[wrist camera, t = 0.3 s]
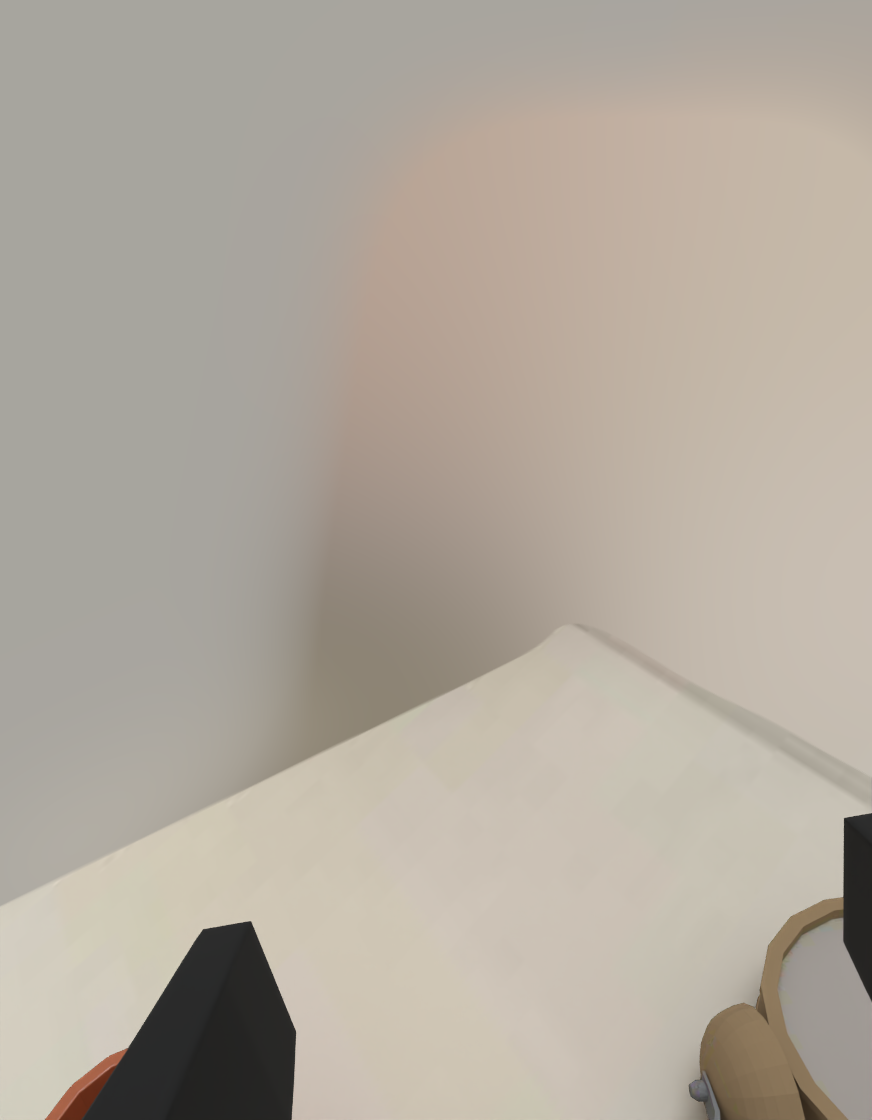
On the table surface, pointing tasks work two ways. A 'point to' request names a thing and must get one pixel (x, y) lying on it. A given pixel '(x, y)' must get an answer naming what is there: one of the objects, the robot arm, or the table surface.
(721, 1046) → the alarm clock
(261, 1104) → the robot arm
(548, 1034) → the table surface
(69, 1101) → the cup
